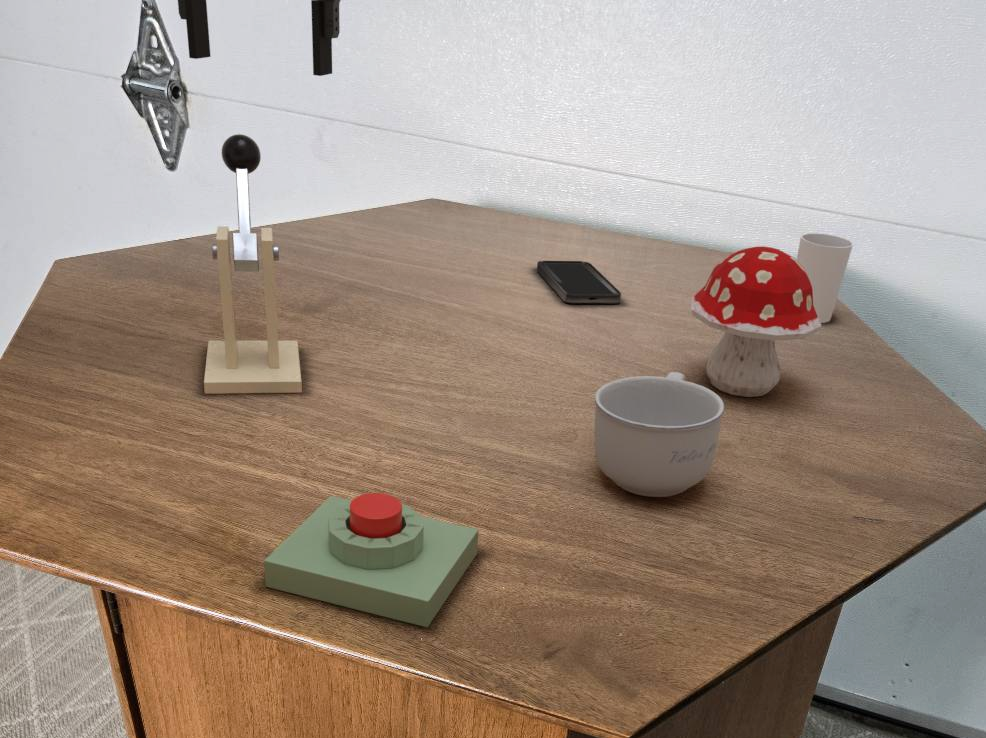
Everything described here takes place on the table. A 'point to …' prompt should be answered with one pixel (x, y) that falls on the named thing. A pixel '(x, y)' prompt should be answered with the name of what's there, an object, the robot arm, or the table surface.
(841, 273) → the drinking glass
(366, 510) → the button
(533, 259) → the table surface
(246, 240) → the lever
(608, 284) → the phone
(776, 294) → the decorative mushroom
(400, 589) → the control block
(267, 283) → the bracket
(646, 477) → the teacup
